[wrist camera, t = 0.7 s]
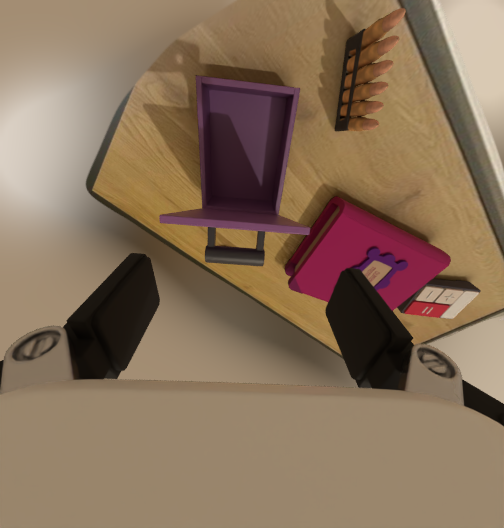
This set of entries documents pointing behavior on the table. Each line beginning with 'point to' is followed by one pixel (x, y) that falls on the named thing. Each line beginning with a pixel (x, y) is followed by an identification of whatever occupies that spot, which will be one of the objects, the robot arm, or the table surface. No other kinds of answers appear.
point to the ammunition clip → (365, 74)
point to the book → (362, 255)
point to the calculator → (440, 299)
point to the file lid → (235, 221)
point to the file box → (244, 143)
